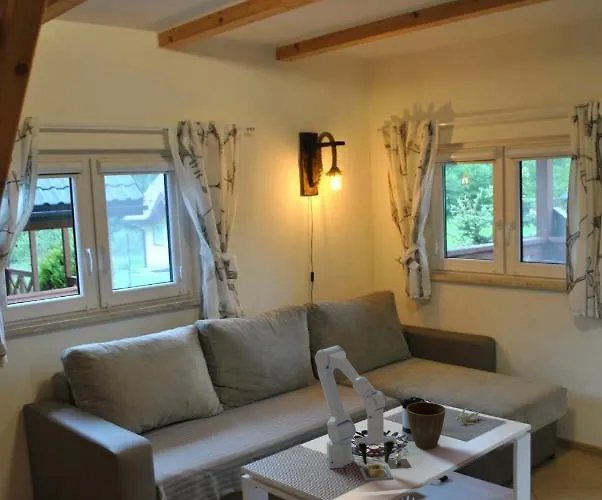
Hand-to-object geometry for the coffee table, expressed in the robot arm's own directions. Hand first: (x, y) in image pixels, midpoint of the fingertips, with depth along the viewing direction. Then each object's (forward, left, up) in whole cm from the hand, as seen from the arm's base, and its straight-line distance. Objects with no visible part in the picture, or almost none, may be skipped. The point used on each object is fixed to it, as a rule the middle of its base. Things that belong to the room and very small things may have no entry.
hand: (375, 462), depth 254 cm
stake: (+10, +7, -5) cm, 13 cm away
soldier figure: (+51, +46, -5) cm, 69 cm away
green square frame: (0, 0, -5) cm, 5 cm away
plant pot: (+25, +22, -5) cm, 34 cm away
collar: (0, 0, -5) cm, 5 cm away
